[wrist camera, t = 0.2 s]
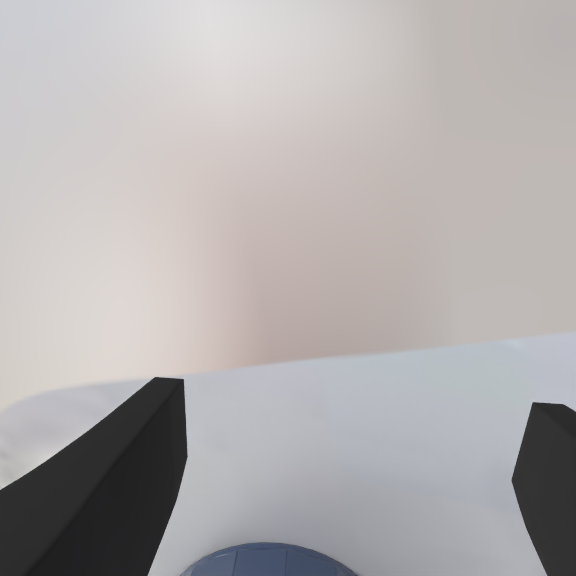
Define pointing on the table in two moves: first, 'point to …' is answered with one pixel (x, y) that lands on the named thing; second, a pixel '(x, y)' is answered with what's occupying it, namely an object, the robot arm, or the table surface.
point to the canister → (267, 562)
